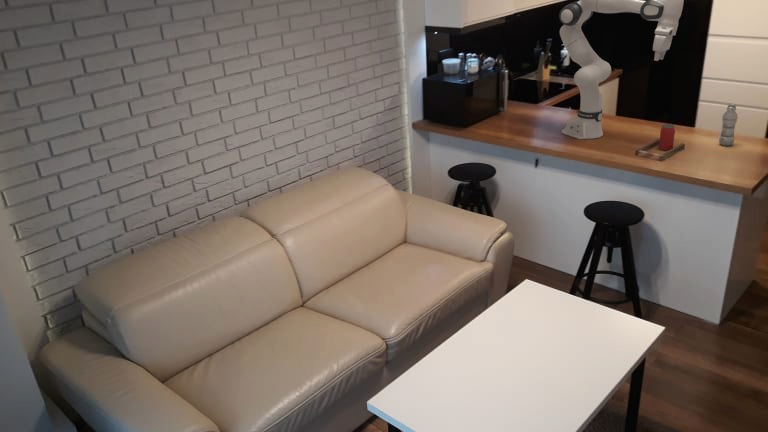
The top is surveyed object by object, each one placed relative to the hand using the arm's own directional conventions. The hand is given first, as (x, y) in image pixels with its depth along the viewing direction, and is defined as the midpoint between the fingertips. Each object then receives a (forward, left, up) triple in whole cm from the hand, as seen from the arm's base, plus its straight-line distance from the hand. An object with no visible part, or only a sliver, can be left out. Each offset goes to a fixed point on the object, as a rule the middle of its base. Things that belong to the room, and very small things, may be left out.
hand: (658, 60), depth 294 cm
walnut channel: (+8, -4, -44) cm, 45 cm away
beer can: (+8, +2, -45) cm, 45 cm away
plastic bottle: (+28, +23, -45) cm, 57 cm away
